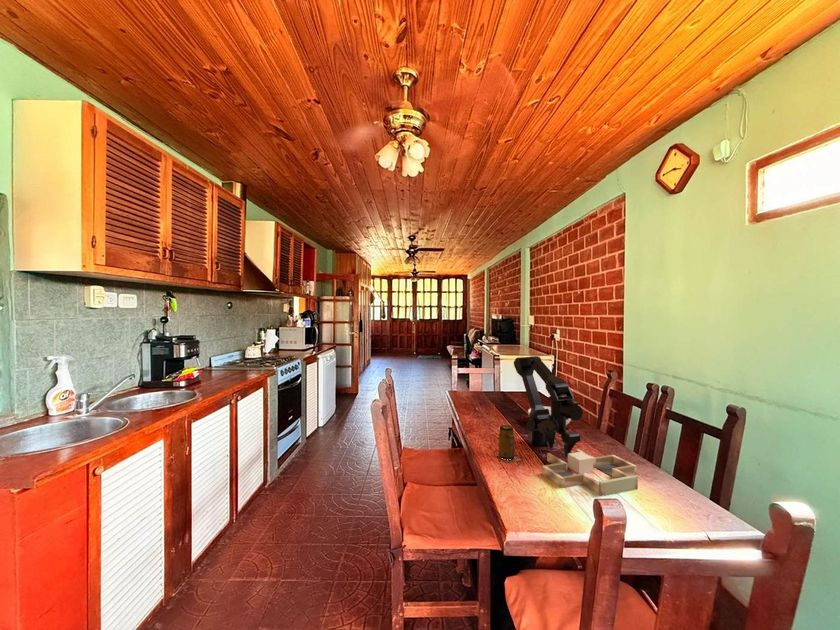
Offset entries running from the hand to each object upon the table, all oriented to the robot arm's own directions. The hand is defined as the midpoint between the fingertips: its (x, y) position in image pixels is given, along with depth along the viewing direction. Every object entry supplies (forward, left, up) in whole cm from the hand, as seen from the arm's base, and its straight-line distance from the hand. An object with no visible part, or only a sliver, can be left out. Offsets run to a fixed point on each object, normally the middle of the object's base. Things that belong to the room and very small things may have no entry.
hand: (558, 452), depth 143 cm
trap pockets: (+4, -16, -2) cm, 17 cm away
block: (+3, -12, -2) cm, 12 cm away
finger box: (+4, -16, -2) cm, 17 cm away
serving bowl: (+11, +38, -2) cm, 40 cm away
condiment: (-21, 0, -2) cm, 21 cm away
